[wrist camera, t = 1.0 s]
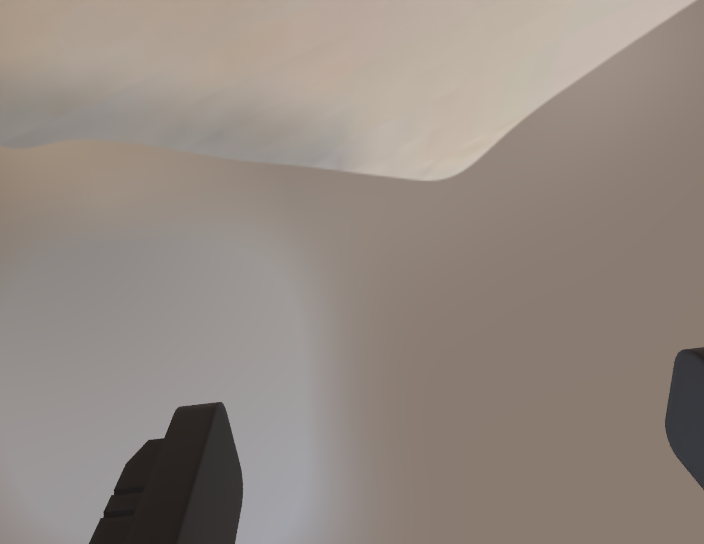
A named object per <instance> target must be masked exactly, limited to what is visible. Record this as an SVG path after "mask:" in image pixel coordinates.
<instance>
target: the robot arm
mask: <svg viewBox="0 0 704 544" xmlns="http://www.w3.org/2000/svg"><path fill="white" fill-rule="evenodd" d="M665 428H666V433H667V438H668V441H669V443H670V446H671V448H672V450H673V452H674V453H675V455H676V456H677V458H678V459H679V460H680V461H681V462H682V464H683V465H684V466H685V467H686V469H687V470H688V471H689V472H690V473H691V475H692V476H693V477H694V478H695V479H696V481H697V482H698V483H699V485H700V486H701V487H702V488H703V490H704V347H702V348H694V349H685V350H682V351H680V352H679V353H678V355H677V356H676V358H675V362H674V368H673V375H672V382H671V387H670V393H669V400H668V406H667V413H666V420H665ZM242 498H243V481H242V472H241V466H240V462H239V458H238V455H237V451H236V447H235V443H234V439H233V435H232V431H231V427H230V423H229V420H228V415H227V412H226V409H225V406H224V405H223V403H222V402H217V403H208V404H199V405H192V406H182V407H178V408H177V409H176V411H175V413H174V415H173V418H172V420H171V423H170V425H169V428H168V430H167V433H166V435H165V438H163V439H155V440H148V441H147V442H146V443H145V445H143V447H142V448H141V449H140V450H139V451H138V452H137V453H136V454H135V455H134V456H133V457H132V458H131V459H130V460H129V461H128V462H127V463H126V465H125V467H124V469H123V472H122V474H121V476H120V478H119V480H118V482H117V485H116V487H115V489H114V495H112V496H111V497H110V500H109V502H108V504H107V506H106V508H105V510H104V517H103V518H101V519H100V521H99V523H98V526H97V528H96V530H95V532H94V534H93V536H92V538H91V541H90V543H89V544H235V540H236V534H237V529H238V523H239V518H240V512H241V507H242Z"/></svg>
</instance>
